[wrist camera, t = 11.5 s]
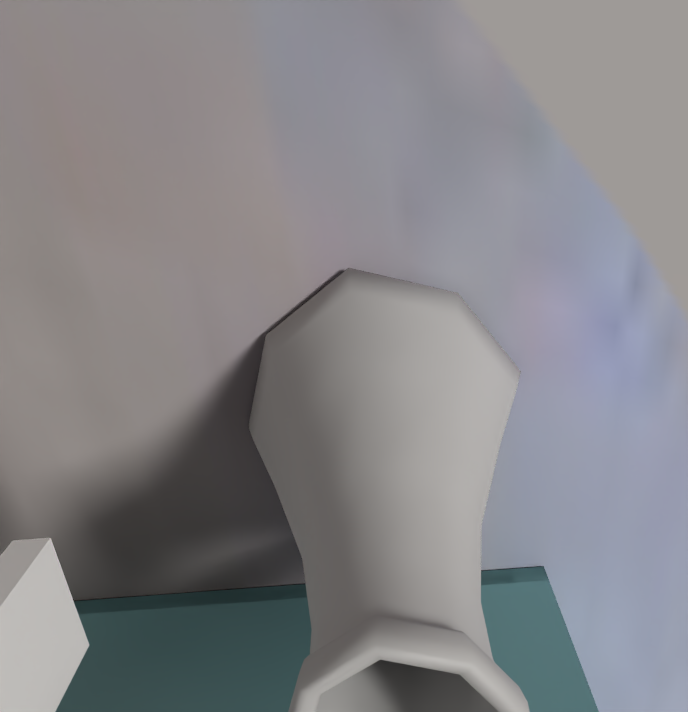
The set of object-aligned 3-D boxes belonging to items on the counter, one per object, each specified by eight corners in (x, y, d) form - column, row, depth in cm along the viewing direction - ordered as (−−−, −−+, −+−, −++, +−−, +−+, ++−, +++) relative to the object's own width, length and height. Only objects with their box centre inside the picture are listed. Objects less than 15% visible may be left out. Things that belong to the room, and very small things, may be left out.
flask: (415, 538, 19) (465, 945, 10) (207, 430, 18) (47, 787, 9) (565, 357, 17) (813, 681, 8) (336, 216, 15) (301, 402, 6)
